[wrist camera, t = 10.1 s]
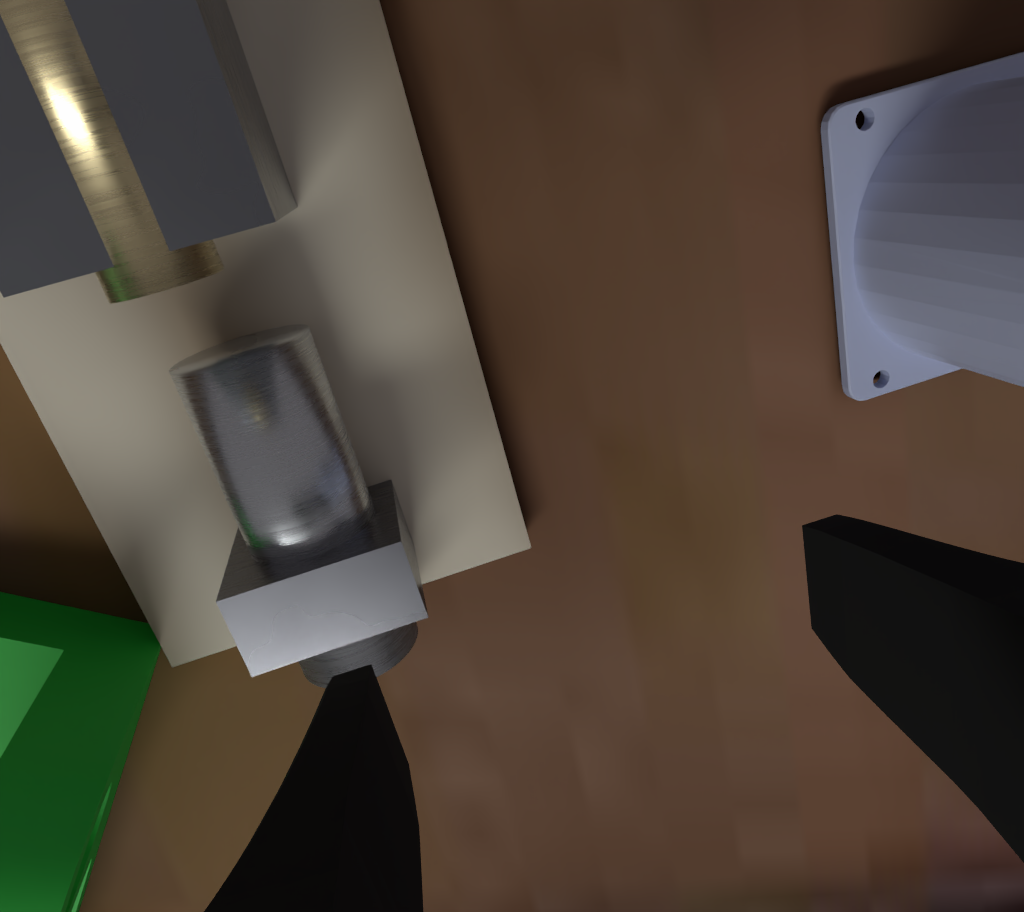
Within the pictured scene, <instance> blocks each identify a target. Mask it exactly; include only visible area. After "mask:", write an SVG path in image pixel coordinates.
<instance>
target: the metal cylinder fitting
mask: <svg viewBox="0 0 1024 912" xmlns="http://www.w3.org/2000/svg"><path fill="white" fill-rule="evenodd" d="M169 373H170V375H171V378H172V380H173V382H174V384H175V387H176V389H177V391H178V393H179V396H180V398H181V400H182V402H183V405H184V407H185V409H186V411H187V413H188V416H189V418H190V420H191V422H192V425H193V427H194V429H195V431H196V434H197V436H198V438H199V440H200V443H201V445H202V447H203V449H204V452H205V454H206V456H207V458H208V460H209V463H210V465H211V467H212V469H213V472H214V474H215V476H216V478H217V481H218V483H219V485H220V487H221V490H222V492H223V494H224V496H225V498H226V501H227V503H228V505H229V507H230V510H231V512H232V514H233V516H234V519H235V521H236V523H237V525H238V529H237V533H236V536H235V539H234V543H233V546H232V549H231V553H230V556H229V559H228V563H227V566H226V569H225V573H224V576H223V579H222V583H221V586H220V589H219V593H218V596H217V599H216V603H217V605H218V608H219V610H220V612H221V614H222V616H223V618H224V620H225V622H226V624H227V626H228V628H229V630H230V632H231V635H232V637H233V639H234V641H235V643H236V645H237V647H238V649H239V651H240V653H241V655H242V657H243V659H244V662H245V664H246V666H247V668H248V670H249V672H250V674H251V676H252V677H253V676H256V675H259V674H262V673H265V672H268V671H271V670H274V669H277V668H280V667H283V666H286V665H289V664H292V663H295V662H299V664H300V666H301V668H302V671H303V673H304V675H305V677H306V679H307V680H308V681H309V682H311V683H312V684H314V685H316V686H319V687H323V688H326V687H327V685H328V683H329V681H330V680H331V678H332V676H336V675H339V674H342V673H345V672H348V671H351V670H354V669H357V668H360V667H364V666H367V665H370V664H371V665H372V667H373V670H374V673H375V675H376V677H378V676H379V675H381V674H383V673H385V672H386V671H388V670H389V669H391V668H392V667H394V666H395V665H396V664H397V663H399V662H400V661H401V660H402V659H403V658H404V657H405V656H406V655H407V654H408V653H409V651H410V650H411V648H412V647H413V645H414V643H415V641H416V639H417V635H418V626H417V623H416V621H419V620H422V619H425V618H428V614H427V608H426V603H425V598H424V593H423V588H422V583H421V577H420V572H419V567H418V562H417V557H416V552H415V546H414V543H413V540H412V537H411V534H410V532H409V529H408V526H407V523H406V520H405V517H404V514H403V511H402V508H401V506H400V503H399V500H398V497H397V494H396V491H395V488H394V485H393V483H392V480H388V481H384V482H381V483H378V484H375V485H372V486H369V487H367V485H366V482H365V480H364V477H363V474H362V471H361V469H360V466H359V463H358V460H357V458H356V455H355V452H354V449H353V447H352V444H351V441H350V438H349V435H348V433H347V430H346V427H345V424H344V422H343V419H342V416H341V413H340V411H339V408H338V405H337V402H336V400H335V397H334V394H333V391H332V389H331V386H330V383H329V380H328V378H327V375H326V372H325V369H324V367H323V364H322V361H321V358H320V355H319V353H318V350H317V347H316V344H315V342H314V339H313V336H312V333H311V331H310V328H309V326H308V325H305V324H296V325H287V326H281V327H276V328H272V329H267V330H263V331H259V332H256V333H252V334H248V335H245V336H242V337H239V338H236V339H232V340H230V341H227V342H224V343H221V344H218V345H215V346H213V347H210V348H208V349H205V350H203V351H201V352H198V353H196V354H194V355H192V356H190V357H188V358H186V359H184V360H182V361H180V362H178V363H177V364H175V365H174V366H173V367H172V368H170V370H169Z"/></svg>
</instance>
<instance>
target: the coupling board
mask: <svg viewBox="0 0 1024 912" xmlns="http://www.w3.org/2000/svg"><path fill="white" fill-rule="evenodd" d="M226 2H227V5H228V8H229V10H230V13H231V16H232V19H233V22H234V25H235V28H236V31H237V33H238V36H239V39H240V42H241V45H242V48H243V51H244V54H245V56H246V59H247V62H248V65H249V68H250V71H251V74H252V77H253V79H254V82H255V85H256V88H257V91H258V94H259V97H260V100H261V103H262V105H263V108H264V111H265V114H266V117H267V120H268V123H269V126H270V128H271V131H272V134H273V137H274V140H275V143H276V146H277V149H278V151H279V154H280V157H281V160H282V163H283V166H284V169H285V172H286V174H287V177H288V180H289V183H290V186H291V189H292V192H293V195H294V197H295V200H296V203H297V206H298V207H297V208H296V209H294V210H293V211H291V212H290V213H288V214H287V215H285V216H284V217H282V218H281V219H279V220H278V221H276V222H273V223H270V224H266V225H263V226H259V227H256V228H252V229H248V230H245V231H241V232H238V233H234V234H230V235H227V236H223V237H220V238H216V239H213V241H214V243H215V246H216V249H217V251H218V254H219V256H220V259H221V261H222V264H223V266H224V270H222V271H220V272H218V273H216V274H213V275H210V276H208V277H205V278H202V279H199V280H196V281H193V282H190V283H187V284H184V285H181V286H178V287H175V288H171V289H168V290H165V291H161V292H158V293H154V294H151V295H147V296H143V297H140V298H136V299H132V300H128V301H123V302H118V303H112V304H110V303H109V302H108V300H107V298H106V295H105V293H104V291H103V289H102V287H101V285H100V282H99V280H98V278H97V276H96V274H95V272H94V273H91V274H87V275H83V276H80V277H76V278H73V279H69V280H65V281H62V282H58V283H55V284H51V285H47V286H44V287H40V288H37V289H33V290H30V291H26V292H22V293H19V294H15V295H12V296H8V297H4V298H3V296H2V294H1V292H0V343H1V345H2V347H3V349H4V351H5V353H6V355H7V357H8V359H9V360H10V362H11V364H12V366H13V368H14V370H15V372H16V374H17V375H18V377H19V379H20V381H21V383H22V385H23V387H24V389H25V391H26V392H27V394H28V396H29V398H30V400H31V402H32V404H33V406H34V408H35V409H36V411H37V413H38V415H39V417H40V419H41V421H42V423H43V425H44V426H45V428H46V430H47V432H48V434H49V436H50V438H51V440H52V442H53V443H54V445H55V447H56V449H57V451H58V453H59V455H60V457H61V458H62V460H63V462H64V464H65V466H66V468H67V470H68V472H69V474H70V475H71V477H72V479H73V481H74V483H75V485H76V487H77V489H78V491H79V492H80V494H81V496H82V498H83V500H84V502H85V504H86V506H87V508H88V509H89V511H90V513H91V515H92V517H93V519H94V521H95V523H96V525H97V526H98V528H99V530H100V532H101V534H102V536H103V538H104V540H105V542H106V543H107V545H108V547H109V549H110V551H111V553H112V555H113V557H114V558H115V560H116V562H117V564H118V566H119V568H120V570H121V572H122V574H123V575H124V577H125V579H126V581H127V583H128V585H129V587H130V589H131V591H132V592H133V594H134V596H135V598H136V600H137V602H138V604H139V606H140V608H141V609H142V611H143V613H144V615H145V617H146V619H147V621H148V623H149V625H150V626H151V628H152V630H153V632H154V634H155V636H156V638H157V640H158V642H159V643H160V645H161V647H162V649H163V651H164V653H165V655H166V657H167V658H168V660H169V662H170V664H171V666H172V667H175V666H178V665H181V664H184V663H187V662H190V661H193V660H196V659H199V658H202V657H205V656H208V655H211V654H214V653H217V652H220V651H223V650H226V649H229V648H232V647H235V646H237V645H236V643H235V641H234V639H233V637H232V635H231V632H230V630H229V628H228V626H227V624H226V622H225V620H224V618H223V616H222V614H221V612H220V610H219V608H218V605H217V603H216V599H217V596H218V593H219V589H220V586H221V583H222V579H223V576H224V573H225V569H226V566H227V563H228V559H229V556H230V553H231V549H232V546H233V543H234V539H235V536H236V533H237V529H238V525H237V523H236V521H235V519H234V516H233V514H232V512H231V510H230V507H229V505H228V503H227V501H226V498H225V496H224V494H223V492H222V490H221V487H220V485H219V483H218V481H217V478H216V476H215V474H214V472H213V469H212V467H211V465H210V463H209V460H208V458H207V456H206V454H205V452H204V449H203V447H202V445H201V443H200V440H199V438H198V436H197V434H196V431H195V429H194V427H193V425H192V422H191V420H190V418H189V416H188V413H187V411H186V409H185V407H184V405H183V402H182V400H181V398H180V396H179V393H178V391H177V389H176V387H175V384H174V382H173V380H172V378H171V375H170V373H169V370H170V368H172V367H173V366H174V365H175V364H177V363H178V362H180V361H182V360H184V359H186V358H188V357H190V356H192V355H194V354H196V353H198V352H201V351H203V350H205V349H208V348H210V347H213V346H215V345H218V344H221V343H224V342H227V341H230V340H232V339H236V338H239V337H242V336H245V335H248V334H252V333H256V332H259V331H263V330H267V329H272V328H276V327H281V326H287V325H296V324H305V325H308V326H309V328H310V331H311V333H312V336H313V339H314V342H315V344H316V347H317V350H318V353H319V355H320V358H321V361H322V364H323V367H324V369H325V372H326V375H327V378H328V380H329V383H330V386H331V389H332V391H333V394H334V397H335V400H336V402H337V405H338V408H339V411H340V413H341V416H342V419H343V422H344V424H345V427H346V430H347V433H348V435H349V438H350V441H351V444H352V447H353V449H354V452H355V455H356V458H357V460H358V463H359V466H360V469H361V471H362V474H363V477H364V480H365V482H366V485H367V487H369V486H372V485H375V484H378V483H381V482H384V481H388V480H392V483H393V485H394V488H395V491H396V494H397V497H398V500H399V503H400V506H401V508H402V511H403V514H404V517H405V520H406V523H407V526H408V529H409V532H410V534H411V537H412V540H413V543H414V546H415V552H416V557H417V562H418V567H419V572H420V577H421V583H422V584H424V583H427V582H430V581H433V580H436V579H439V578H442V577H445V576H448V575H451V574H454V573H457V572H460V571H463V570H466V569H469V568H472V567H475V566H478V565H481V564H484V563H487V562H490V561H493V560H496V559H499V558H502V557H505V556H508V555H511V554H514V553H517V552H520V551H523V550H526V549H529V548H531V545H530V542H529V538H528V534H527V531H526V527H525V524H524V520H523V516H522V513H521V509H520V505H519V502H518V498H517V495H516V491H515V487H514V484H513V480H512V477H511V473H510V469H509V466H508V462H507V459H506V455H505V451H504V448H503V444H502V441H501V437H500V433H499V430H498V426H497V423H496V419H495V415H494V412H493V408H492V405H491V401H490V397H489V394H488V390H487V387H486V383H485V379H484V376H483V372H482V369H481V365H480V361H479V358H478V354H477V351H476V347H475V343H474V340H473V336H472V333H471V329H470V325H469V322H468V318H467V315H466V311H465V307H464V304H463V300H462V296H461V293H460V289H459V286H458V282H457V278H456V275H455V271H454V268H453V264H452V260H451V257H450V253H449V250H448V246H447V242H446V239H445V235H444V232H443V228H442V224H441V221H440V217H439V214H438V210H437V206H436V203H435V199H434V196H433V192H432V188H431V185H430V181H429V178H428V174H427V170H426V167H425V163H424V160H423V156H422V152H421V149H420V145H419V142H418V138H417V134H416V131H415V127H414V124H413V120H412V116H411V113H410V109H409V106H408V102H407V98H406V95H405V91H404V88H403V84H402V80H401V77H400V73H399V69H398V66H397V62H396V59H395V55H394V51H393V48H392V44H391V41H390V37H389V33H388V30H387V26H386V23H385V19H384V15H383V12H382V8H381V5H380V1H379V0H226Z"/></svg>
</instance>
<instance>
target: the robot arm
mask: <svg viewBox="0 0 1024 912" xmlns="http://www.w3.org/2000/svg"><path fill="white" fill-rule="evenodd" d="M860 110H861V111H862V112H863V114H864V117H865V119H864V124H863V126H862V127H861V129H860V130H859V129H858V128H857V126H856V123H855V121H856V116H857V114H858V113H859V111H860ZM821 139H822V151H823V163H824V175H825V187H826V199H827V211H828V223H829V235H830V247H831V259H832V271H833V283H834V295H835V307H836V319H837V331H838V343H839V354H840V366H841V378H842V388H843V391H844V393H845V394H846V395H847V396H848V397H851V398H853V399H855V400H858V401H862V400H867V399H870V398H873V397H876V396H879V395H883V394H886V393H889V392H892V391H895V390H898V389H901V388H904V387H907V386H910V385H913V384H916V383H919V382H922V381H925V380H928V379H931V378H934V377H937V376H941V375H944V374H947V373H950V372H953V371H956V370H959V369H962V368H964V369H967V370H970V371H974V372H977V373H980V374H983V375H987V376H990V377H993V378H996V379H1000V380H1003V381H1006V382H1009V383H1013V384H1016V385H1019V386H1022V387H1024V52H1021V53H1017V54H1014V55H1010V56H1006V57H1003V58H999V59H996V60H992V61H989V62H985V63H982V64H978V65H975V66H971V67H968V68H964V69H961V70H957V71H953V72H950V73H946V74H943V75H939V76H936V77H932V78H929V79H925V80H922V81H918V82H915V83H911V84H908V85H904V86H901V87H897V88H893V89H890V90H886V91H883V92H879V93H876V94H872V95H869V96H865V97H862V98H858V99H855V100H851V101H848V102H844V103H840V104H837V105H835V106H833V107H831V108H830V109H829V110H828V111H827V112H826V114H825V115H824V117H823V120H822V122H821ZM879 371H880V373H881V374H880V378H879V380H878V381H877V382H876V383H875V384H873V378H874V376H875V374H876V373H877V372H879ZM802 528H803V539H804V550H805V561H806V572H807V583H808V593H809V604H810V615H811V626H812V629H813V631H814V632H815V633H816V635H817V636H818V637H819V639H820V640H821V641H822V643H823V644H824V645H825V647H826V648H827V650H828V651H829V652H830V654H831V655H832V656H833V657H834V659H835V660H836V661H837V663H838V664H839V665H840V666H841V668H842V669H843V670H844V671H845V673H846V674H847V675H848V676H849V678H850V679H851V680H852V681H853V682H854V683H855V684H856V685H857V686H858V687H859V688H860V689H861V690H862V691H863V692H864V693H865V694H866V695H867V696H868V697H869V698H870V699H871V700H872V701H873V702H874V703H875V704H876V705H877V706H878V707H879V708H880V709H881V710H882V711H883V712H884V713H885V714H886V715H887V716H888V717H889V718H890V719H891V720H892V721H893V722H894V723H895V724H896V725H897V726H898V727H899V728H900V729H901V730H902V731H903V732H904V733H905V734H906V735H907V736H908V737H909V738H910V739H911V740H912V741H913V742H914V743H915V744H916V745H917V746H918V747H919V748H920V749H921V750H922V751H923V752H924V753H925V754H926V755H927V756H928V757H929V758H930V759H931V760H932V761H933V762H934V763H935V764H936V765H937V766H938V767H939V768H940V769H941V770H942V771H943V772H944V773H945V774H946V775H947V776H948V777H949V778H950V779H951V780H952V781H953V782H954V783H955V784H956V785H957V786H958V787H959V788H960V789H961V790H962V791H963V792H964V793H965V794H966V795H967V797H968V798H969V799H970V800H971V801H972V802H973V803H974V804H975V805H976V806H977V807H978V808H979V810H980V811H981V812H982V813H983V814H984V815H985V817H986V818H987V819H988V820H989V821H990V823H991V824H992V825H993V826H994V827H995V829H996V830H997V831H998V832H999V834H1000V835H1001V836H1002V837H1003V838H1004V840H1005V841H1006V842H1007V843H1008V844H1009V846H1010V847H1011V848H1012V849H1013V850H1014V852H1015V853H1016V854H1017V855H1018V856H1019V858H1020V859H1021V860H1022V861H1023V862H1024V563H1020V562H1016V561H1012V560H1007V559H1003V558H999V557H995V556H991V555H987V554H983V553H980V552H976V551H972V550H968V549H964V548H961V547H957V546H953V545H950V544H946V543H943V542H939V541H935V540H932V539H928V538H925V537H921V536H918V535H914V534H911V533H907V532H904V531H900V530H897V529H893V528H890V527H886V526H882V525H879V524H875V523H871V522H868V521H864V520H860V519H856V518H851V517H847V516H842V515H833V516H830V517H827V518H824V519H821V520H818V521H815V522H812V523H808V524H805V525H802ZM204 912H423V895H422V874H421V854H420V836H419V823H418V817H417V811H416V804H415V798H414V792H413V787H412V781H411V775H410V769H409V764H408V761H407V758H406V756H405V753H404V750H403V748H402V745H401V742H400V740H399V737H398V734H397V732H396V729H395V726H394V724H393V721H392V718H391V716H390V713H389V710H388V707H387V705H386V702H385V699H384V697H383V694H382V691H381V689H380V686H379V683H378V681H377V678H376V675H375V673H374V670H373V667H372V665H371V664H370V665H367V666H364V667H360V668H357V669H354V670H351V671H348V672H345V673H342V674H339V675H336V676H332V678H331V680H330V681H329V683H328V685H327V687H326V689H325V692H324V694H323V696H322V699H321V701H320V703H319V706H318V708H317V710H316V713H315V715H314V717H313V719H312V722H311V724H310V726H309V728H308V731H307V733H306V735H305V737H304V739H303V742H302V744H301V746H300V748H299V750H298V752H297V754H296V756H295V758H294V760H293V762H292V764H291V766H290V768H289V770H288V772H287V774H286V777H285V779H284V781H283V783H282V785H281V786H280V788H279V790H278V792H277V794H276V796H275V798H274V800H273V801H272V803H271V805H270V807H269V809H268V810H267V812H266V814H265V816H264V817H263V819H262V821H261V823H260V825H259V826H258V828H257V830H256V832H255V834H254V835H253V837H252V839H251V841H250V842H249V844H248V846H247V847H246V849H245V851H244V852H243V854H242V855H241V857H240V859H239V860H238V862H237V864H236V865H235V867H234V868H233V870H232V871H231V873H230V875H229V876H228V878H227V879H226V881H225V882H224V884H223V885H222V887H221V888H220V889H219V891H218V892H217V894H216V895H215V897H214V898H213V900H212V901H211V903H210V904H209V905H208V907H207V908H206V910H205V911H204Z"/></svg>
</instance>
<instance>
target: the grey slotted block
mask: <svg viewBox="0 0 1024 912" xmlns="http://www.w3.org/2000/svg"><path fill="white" fill-rule="evenodd" d="M297 207H298V206H297V203H296V200H295V197H294V195H293V192H292V189H291V186H290V183H289V180H288V177H287V174H286V172H285V169H284V166H283V163H282V160H281V157H280V154H279V151H278V149H277V146H276V143H275V140H274V137H273V134H272V131H271V128H270V126H269V123H268V120H267V117H266V114H265V111H264V108H263V105H262V103H261V100H260V97H259V94H258V91H257V88H256V85H255V82H254V79H253V77H252V74H251V71H250V68H249V65H248V62H247V59H246V56H245V54H244V51H243V48H242V45H241V42H240V39H239V36H238V33H237V31H236V28H235V25H234V22H233V19H232V16H231V13H230V10H229V8H228V5H227V2H226V0H0V292H1V294H2V296H3V298H4V297H8V296H12V295H15V294H19V293H22V292H26V291H30V290H33V289H37V288H40V287H44V286H47V285H51V284H55V283H58V282H62V281H65V280H69V279H73V278H76V277H80V276H83V275H87V274H91V273H94V272H95V274H96V276H97V278H98V280H99V282H100V285H101V287H102V289H103V291H104V293H105V295H106V298H107V300H108V302H109V303H110V304H112V303H118V302H123V301H128V300H132V299H136V298H140V297H143V296H147V295H151V294H154V293H158V292H161V291H165V290H168V289H171V288H175V287H178V286H181V285H184V284H187V283H190V282H193V281H196V280H199V279H202V278H205V277H208V276H210V275H213V274H216V273H218V272H220V271H222V270H224V266H223V264H222V261H221V259H220V256H219V254H218V251H217V249H216V246H215V243H214V241H213V239H216V238H220V237H223V236H227V235H230V234H234V233H238V232H241V231H245V230H248V229H252V228H256V227H259V226H263V225H266V224H270V223H273V222H276V221H278V220H279V219H281V218H282V217H284V216H285V215H287V214H288V213H290V212H291V211H293V210H294V209H296V208H297Z"/></svg>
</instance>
